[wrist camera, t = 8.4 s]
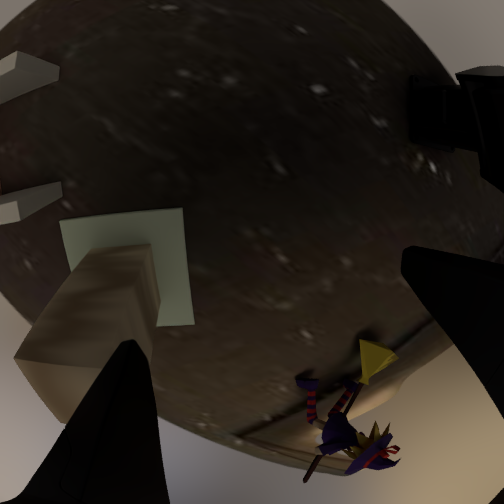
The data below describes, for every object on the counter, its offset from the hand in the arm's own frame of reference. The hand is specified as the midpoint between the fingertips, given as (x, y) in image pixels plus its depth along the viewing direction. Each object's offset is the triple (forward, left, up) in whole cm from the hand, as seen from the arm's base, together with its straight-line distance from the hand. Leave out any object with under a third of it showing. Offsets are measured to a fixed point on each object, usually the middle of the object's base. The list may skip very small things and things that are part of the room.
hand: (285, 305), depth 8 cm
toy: (-10, +21, -13) cm, 27 cm away
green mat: (+9, +5, -13) cm, 16 cm away
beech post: (+9, +5, -12) cm, 16 cm away
